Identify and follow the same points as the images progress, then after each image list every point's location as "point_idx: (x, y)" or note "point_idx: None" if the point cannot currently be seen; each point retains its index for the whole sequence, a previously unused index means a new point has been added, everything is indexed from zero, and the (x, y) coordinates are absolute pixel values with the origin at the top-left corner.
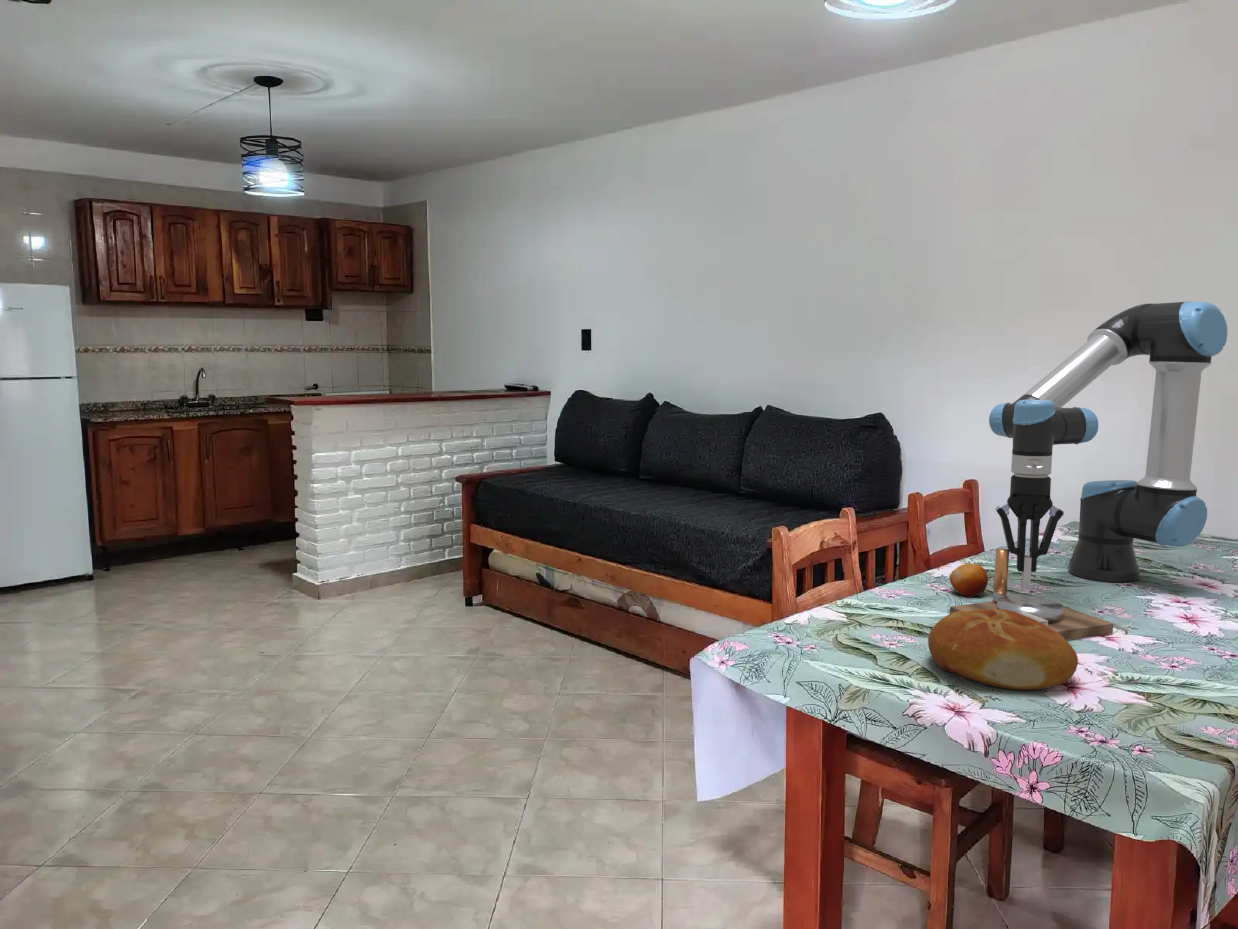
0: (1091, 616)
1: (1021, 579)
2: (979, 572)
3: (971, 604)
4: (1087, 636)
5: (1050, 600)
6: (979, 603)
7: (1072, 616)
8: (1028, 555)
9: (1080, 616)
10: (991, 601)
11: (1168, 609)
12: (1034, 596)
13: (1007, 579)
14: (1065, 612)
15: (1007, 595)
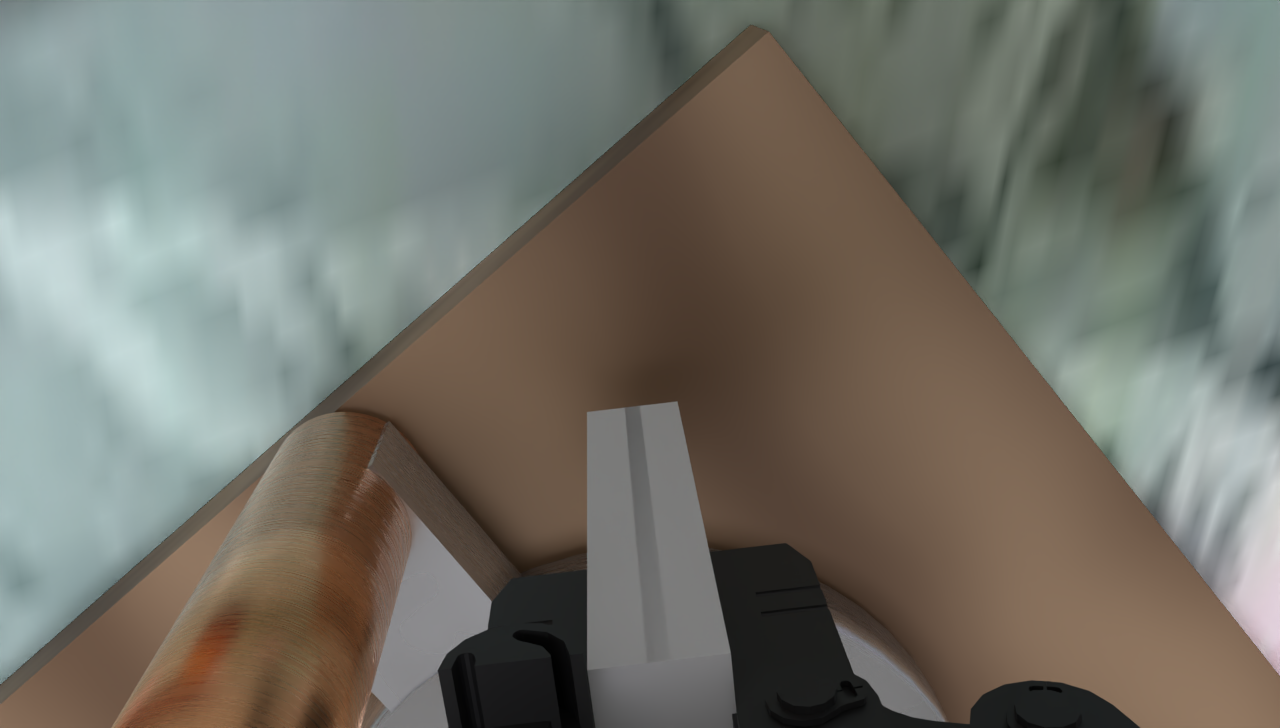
0: (1247, 656)
1: (587, 452)
2: None
3: (62, 671)
4: None
5: (899, 706)
6: (140, 608)
7: None
8: (711, 693)
9: (1138, 695)
10: (260, 479)
11: None
12: (772, 52)
13: (380, 653)
14: (1021, 611)
15: (421, 656)
